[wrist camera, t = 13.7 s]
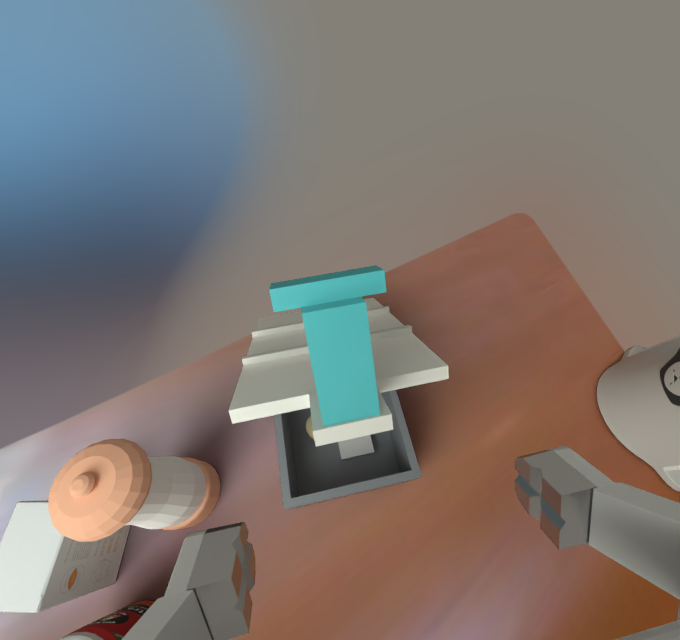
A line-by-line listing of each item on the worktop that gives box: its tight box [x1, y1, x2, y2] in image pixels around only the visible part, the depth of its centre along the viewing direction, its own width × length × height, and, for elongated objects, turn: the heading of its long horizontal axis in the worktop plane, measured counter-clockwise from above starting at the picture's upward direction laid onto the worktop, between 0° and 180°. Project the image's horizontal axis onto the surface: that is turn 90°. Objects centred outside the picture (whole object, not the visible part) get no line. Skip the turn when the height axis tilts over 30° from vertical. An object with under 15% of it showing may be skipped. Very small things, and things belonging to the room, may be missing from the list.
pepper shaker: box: [48, 439, 221, 542], centre depth 31 cm, size 7×7×19 cm
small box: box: [0, 501, 131, 613], centre depth 33 cm, size 8×6×10 cm
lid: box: [228, 266, 449, 446], centre depth 29 cm, size 15×25×9 cm
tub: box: [274, 390, 422, 510], centre depth 40 cm, size 14×20×8 cm
